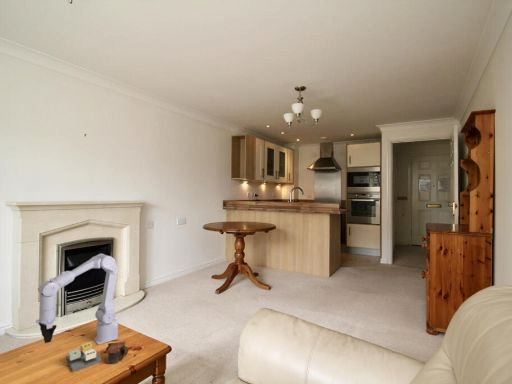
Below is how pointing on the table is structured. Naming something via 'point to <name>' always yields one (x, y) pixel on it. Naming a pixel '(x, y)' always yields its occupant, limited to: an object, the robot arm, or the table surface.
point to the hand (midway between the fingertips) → (46, 338)
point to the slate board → (82, 362)
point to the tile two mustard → (86, 346)
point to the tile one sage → (74, 354)
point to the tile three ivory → (89, 354)
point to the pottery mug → (116, 352)
